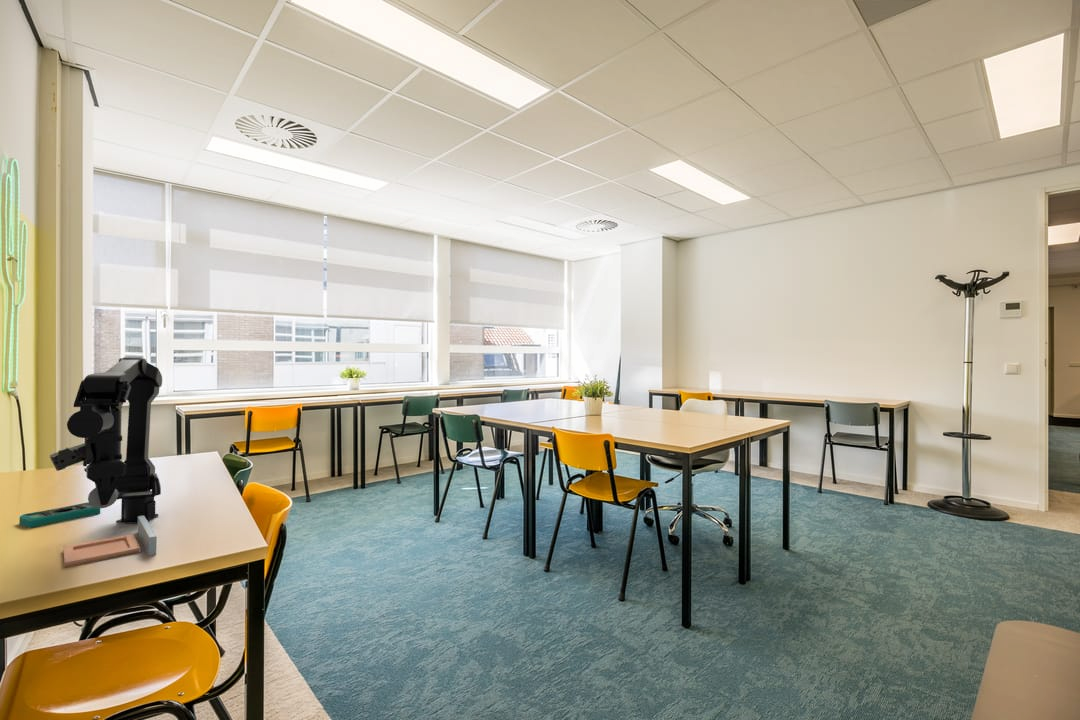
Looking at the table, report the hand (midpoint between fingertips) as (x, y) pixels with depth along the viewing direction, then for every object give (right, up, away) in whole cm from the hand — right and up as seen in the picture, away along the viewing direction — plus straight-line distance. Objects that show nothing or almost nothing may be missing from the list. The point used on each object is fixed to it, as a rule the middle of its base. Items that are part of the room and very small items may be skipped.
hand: (103, 502), depth 110 cm
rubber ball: (0, +1, 0) cm, 1 cm away
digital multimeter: (-31, -11, +22) cm, 39 cm away
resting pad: (0, -11, 0) cm, 11 cm away
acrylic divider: (+5, -11, +5) cm, 13 cm away
